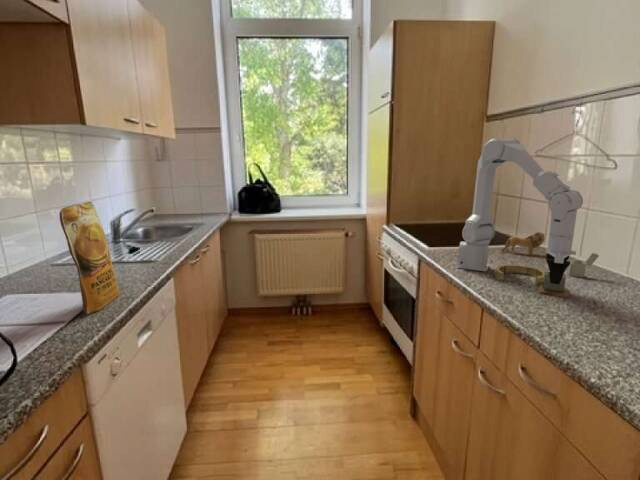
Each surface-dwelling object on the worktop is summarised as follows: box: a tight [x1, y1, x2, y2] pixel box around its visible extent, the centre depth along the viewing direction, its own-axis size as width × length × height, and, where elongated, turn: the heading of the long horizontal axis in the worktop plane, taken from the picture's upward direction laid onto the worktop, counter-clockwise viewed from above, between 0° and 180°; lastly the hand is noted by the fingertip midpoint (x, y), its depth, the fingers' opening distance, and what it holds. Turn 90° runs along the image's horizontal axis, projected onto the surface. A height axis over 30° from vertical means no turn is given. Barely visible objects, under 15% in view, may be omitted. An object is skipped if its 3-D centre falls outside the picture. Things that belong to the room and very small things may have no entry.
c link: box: [543, 271, 567, 292], centre depth 105 cm, size 5×4×4 cm
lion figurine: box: [501, 231, 545, 257], centre depth 145 cm, size 15×5×9 cm, turn 71°
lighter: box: [567, 252, 599, 278], centre depth 117 cm, size 7×2×8 cm, turn 68°
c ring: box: [494, 264, 545, 287], centre depth 119 cm, size 14×15×2 cm
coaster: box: [538, 284, 569, 299], centre depth 106 cm, size 7×7×1 cm
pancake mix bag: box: [59, 201, 121, 315], centre depth 100 cm, size 7×19×28 cm, turn 3°
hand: (554, 281), depth 105 cm, fingers closed on c link, 4 cm apart
